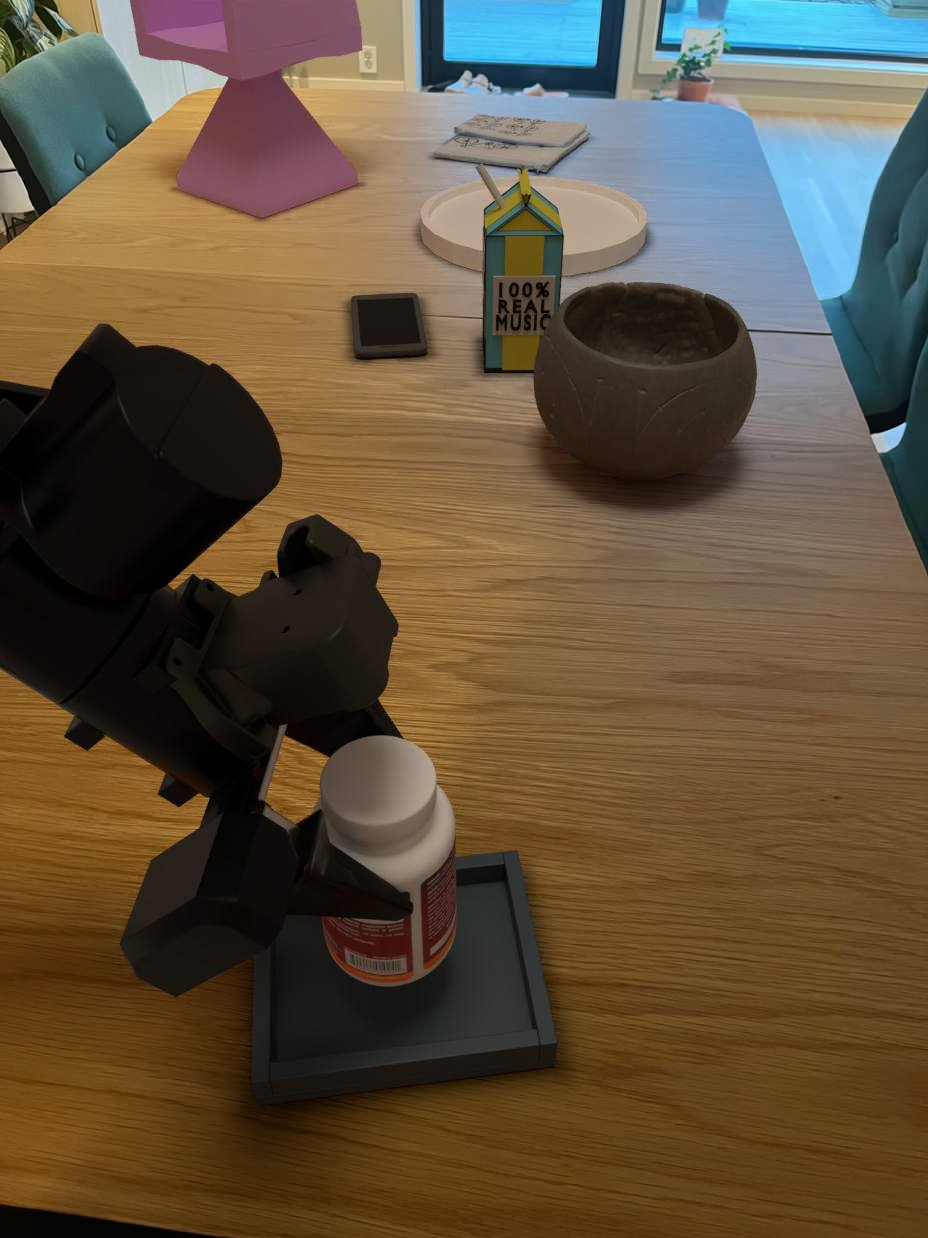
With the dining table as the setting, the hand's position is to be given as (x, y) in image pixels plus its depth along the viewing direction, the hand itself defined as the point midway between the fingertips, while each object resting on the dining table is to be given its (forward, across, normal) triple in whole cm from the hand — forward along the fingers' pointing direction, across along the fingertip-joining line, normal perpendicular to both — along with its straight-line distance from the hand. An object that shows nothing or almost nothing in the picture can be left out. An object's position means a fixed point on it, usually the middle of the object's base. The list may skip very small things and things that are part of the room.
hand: (415, 848), depth 43 cm
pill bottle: (+4, 0, +6) cm, 7 cm away
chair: (-16, +116, +33) cm, 122 cm away
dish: (+7, 0, +8) cm, 11 cm away
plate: (+9, +102, +6) cm, 103 cm away
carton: (+9, +68, +7) cm, 69 cm away
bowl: (+17, +50, -1) cm, 53 cm away
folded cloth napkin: (+6, +137, +9) cm, 137 cm away
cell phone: (-1, +73, +16) cm, 75 cm away
